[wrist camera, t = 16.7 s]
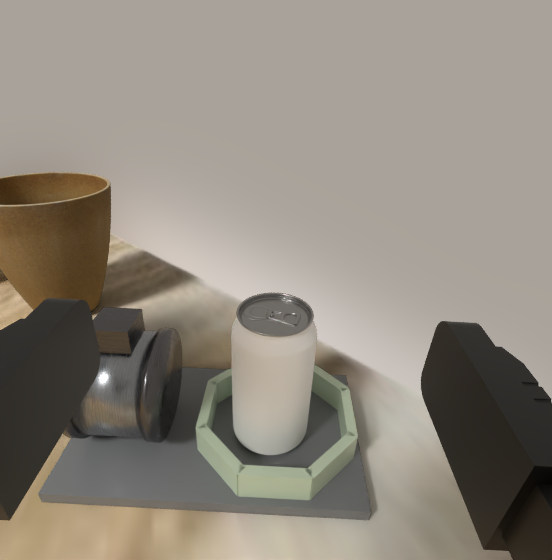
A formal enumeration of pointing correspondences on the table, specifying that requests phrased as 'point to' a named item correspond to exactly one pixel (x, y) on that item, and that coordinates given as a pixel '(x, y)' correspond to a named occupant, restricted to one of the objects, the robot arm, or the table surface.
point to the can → (272, 371)
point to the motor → (131, 380)
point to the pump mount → (222, 460)
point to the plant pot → (55, 235)
